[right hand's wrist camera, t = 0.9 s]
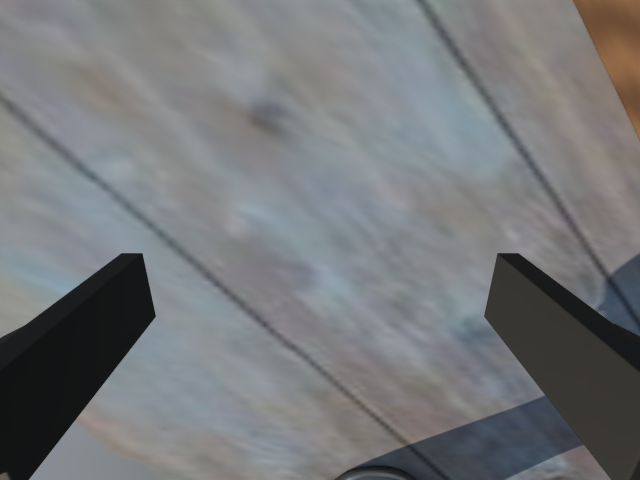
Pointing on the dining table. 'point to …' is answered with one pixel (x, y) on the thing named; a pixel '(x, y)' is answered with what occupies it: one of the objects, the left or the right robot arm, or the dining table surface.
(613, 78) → the beam
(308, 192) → the dining table surface
